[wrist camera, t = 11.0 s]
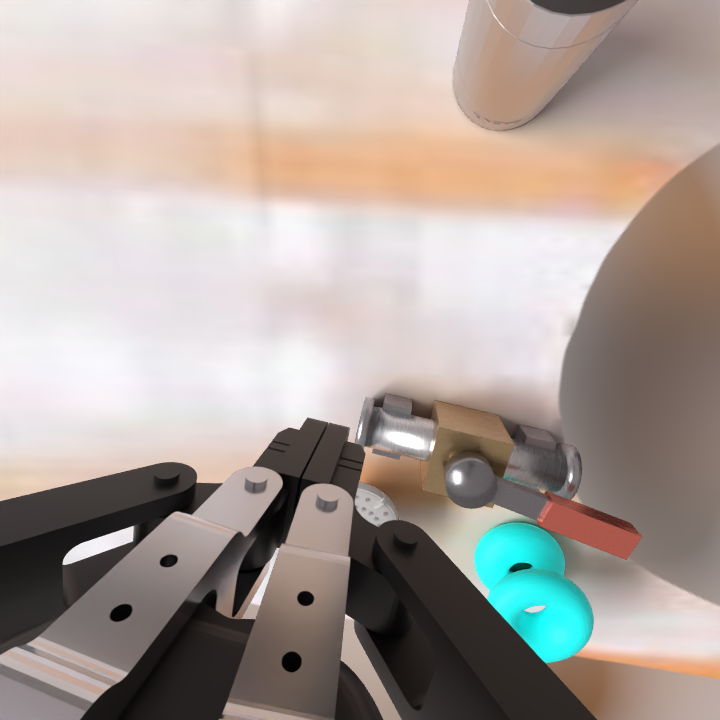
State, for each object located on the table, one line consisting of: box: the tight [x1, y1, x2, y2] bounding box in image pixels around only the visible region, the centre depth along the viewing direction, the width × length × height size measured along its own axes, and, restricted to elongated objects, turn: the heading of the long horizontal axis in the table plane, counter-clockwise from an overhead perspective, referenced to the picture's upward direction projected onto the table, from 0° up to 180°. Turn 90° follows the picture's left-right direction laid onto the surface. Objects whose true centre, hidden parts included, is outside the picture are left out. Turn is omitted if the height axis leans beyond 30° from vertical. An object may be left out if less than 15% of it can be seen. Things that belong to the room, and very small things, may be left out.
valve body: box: [355, 394, 582, 508], centre depth 40 cm, size 7×22×8 cm, turn 79°
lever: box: [444, 452, 642, 559], centre depth 34 cm, size 17×4×2 cm, turn 70°
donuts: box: [474, 522, 594, 663], centre depth 41 cm, size 10×10×10 cm
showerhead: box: [355, 482, 399, 527], centre depth 43 cm, size 9×7×10 cm
